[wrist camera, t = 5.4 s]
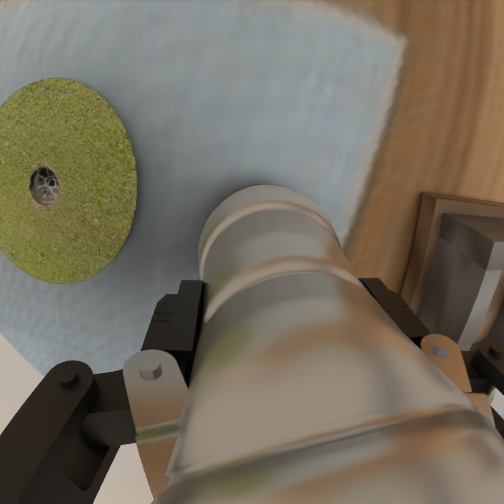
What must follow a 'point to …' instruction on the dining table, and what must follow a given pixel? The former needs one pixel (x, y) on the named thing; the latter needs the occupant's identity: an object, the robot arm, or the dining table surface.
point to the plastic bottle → (314, 379)
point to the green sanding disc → (64, 181)
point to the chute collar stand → (458, 270)
